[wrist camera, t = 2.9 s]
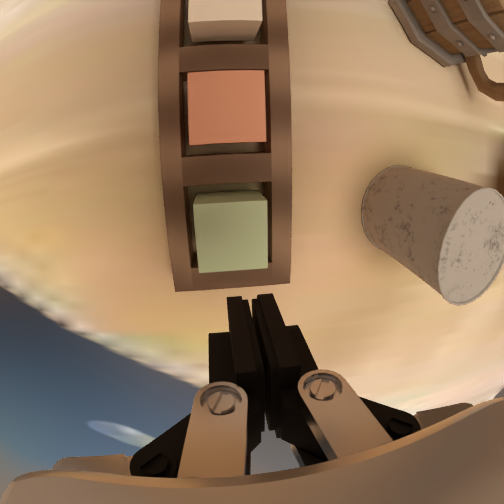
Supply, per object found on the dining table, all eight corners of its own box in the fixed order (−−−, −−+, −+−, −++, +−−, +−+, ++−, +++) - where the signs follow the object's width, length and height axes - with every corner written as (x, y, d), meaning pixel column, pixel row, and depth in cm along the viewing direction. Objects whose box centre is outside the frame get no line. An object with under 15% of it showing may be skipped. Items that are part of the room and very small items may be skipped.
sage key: (196, 193, 23) (192, 204, 19) (257, 190, 24) (267, 200, 20) (201, 250, 25) (199, 272, 21) (258, 247, 26) (267, 268, 22)
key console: (168, -15, 17) (164, -32, 14) (274, -18, 18) (282, -34, 15) (179, 274, 28) (175, 291, 25) (281, 267, 29) (289, 283, 26)
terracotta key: (192, 85, 20) (187, 72, 16) (255, 83, 21) (264, 70, 17) (194, 145, 22) (189, 145, 18) (256, 142, 22) (266, 141, 18)
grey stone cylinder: (406, 262, 31) (474, 316, 20) (345, 231, 29) (417, 286, 17) (441, 191, 28) (521, 221, 17) (385, 148, 26) (475, 162, 14)
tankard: (370, -22, 18) (451, -78, 4) (436, -23, 18) (510, -53, 4) (446, 132, 26) (552, 148, 12) (495, 107, 25) (581, 117, 11)
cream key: (193, -4, 17) (190, -29, 13) (252, -6, 17) (260, -30, 13) (192, 42, 19) (188, 22, 15) (253, 40, 19) (262, 20, 15)
